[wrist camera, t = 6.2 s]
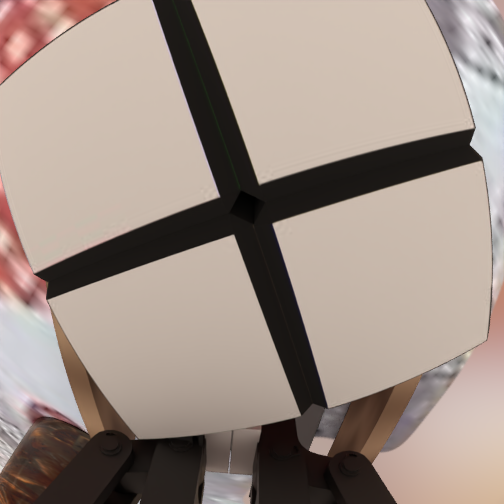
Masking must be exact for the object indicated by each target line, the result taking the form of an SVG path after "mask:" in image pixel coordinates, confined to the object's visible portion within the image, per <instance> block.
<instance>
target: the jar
mask: <svg viewBox="0 0 504 504" xmlns="http://www.w3.org/2000/svg"><path fill="white" fill-rule="evenodd" d="M90 439H91V438H90V436H89V435H88V434H86V433H84V432H83V431H81V430H79V429H77V428H76V427H74V426H72V425H69V424H67V423H65V422H62V421H60V420H57V419H53V418H47V417H43V418H39V419H37V420H36V421H35V422H34V423H33V425H32V426H31V427H30V429H29V430H28V432H27V433H26V435H25V436H24V437H23V439H22V440H21V442H20V443H19V445H18V446H17V448H16V449H15V451H14V452H13V454H12V456H11V457H10V459H9V460H8V462H7V463H6V465H5V467H4V468H3V470H2V472H1V473H0V504H33V502H34V501H35V500H36V499H37V498H38V497H39V496H40V495H41V494H42V493H43V491H44V490H45V489H46V488H47V487H48V486H49V485H50V484H51V483H52V482H53V480H54V479H55V478H56V477H57V476H58V475H59V474H60V473H61V472H62V470H63V469H64V468H65V467H66V466H67V465H68V464H69V463H70V462H71V461H72V459H73V458H74V457H75V456H76V455H77V454H78V453H79V452H80V451H81V449H82V448H83V447H84V446H85V445H86V444H87V443H88V442H89V441H90Z"/></svg>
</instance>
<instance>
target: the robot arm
mask: <svg viewBox="0 0 504 504" xmlns="http://www.w3.org/2000/svg"><path fill="white" fill-rule="evenodd" d="M231 433H232V431H227V432H220V433H213V434H205V435H197V436H187V437H176V438H162V439H141V440H130V439H129V438H128V436H126V435H125V434H124V433H122V432H119V431H116V430H104V431H101V432H98V433H97V434H96V435H94V436H93V437H92V438H91V439H90V441H89V442H88V443H87V444H86V445H85V446H84V447H83V448H82V449H81V451H80V452H79V453H78V454H77V455H76V456H75V457H74V458H73V459H72V461H71V462H70V463H69V464H68V465H67V466H66V467H65V468H64V469H63V470H62V472H61V473H60V474H59V475H58V476H57V477H56V478H55V479H54V480H53V482H52V483H51V484H50V485H49V486H48V487H47V488H46V489H45V490H44V491H43V493H42V494H41V495H40V496H39V497H38V498H37V499H36V500H35V501H34V502H33V504H138V502H139V500H140V499H141V500H140V504H202V499H203V492H204V476H205V470H206V471H211V472H219V473H228V467H229V456H230V444H231ZM252 473H253V474H252ZM230 474H243V475H252V486H251V490H250V494H249V497H251V499H250V504H397V503H396V501H395V500H394V498H393V497H392V495H391V494H390V492H389V491H388V490H387V487H386V486H385V484H384V483H383V482H382V480H381V478H380V477H379V475H378V473H377V472H376V470H375V469H374V467H373V465H372V464H371V462H370V461H369V460H368V459H367V458H366V456H365V455H363V454H361V453H359V452H355V451H350V450H349V451H342V452H339V453H337V454H335V455H334V456H333V457H329V456H323V455H319V454H316V453H312V452H310V451H309V450H307V449H306V448H304V447H303V446H302V445H301V443H300V442H299V439H298V436H297V428H296V421H295V418H292V419H288V420H284V421H280V422H275V423H271V424H266V425H261V426H256V427H250V428H245V429H239V430H233V437H232V449H231V461H230Z"/></svg>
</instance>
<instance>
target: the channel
mask: <svg viewBox="0 0 504 504" xmlns="http://www.w3.org/2000/svg"><path fill="white" fill-rule="evenodd" d="M46 286H47V287H48V282H46ZM50 309H51V308H50ZM51 314H52V319H53V323H54V328H55V332H56V336H57V340H58V344H59V348H60V352H61V356H62V359H63V363H64V366H65V369H66V373H67V376H68V379H69V382H70V385H71V388H72V391H73V394H74V397H75V400H76V403H77V405H78V408H79V411H80V413H81V416H82V418H83V421H84V423H85V426H86V428H87V431H88V433H89V435H90V438H92V437H93V436H94V435H96V434H97V433H98V432H101V431H104V430H116V431H119V432H122V433H124V434H125V435H126V436H128V438H129V439H130V440H135V435H134V434H133V432H132V431H131V430H130V429H129V428H128V426H127V425H126V424H125V423H124V421H123V420H122V419H121V418H120V416H119V415H118V414H117V413H116V411H115V410H114V409H113V407H112V406H111V405H110V403H109V402H108V401H107V399H106V398H105V396H104V395H103V394H102V392H101V391H100V389H99V388H98V387H97V385H96V384H95V382H94V381H93V379H92V378H91V376H90V375H89V373H88V372H87V370H86V369H85V367H84V366H83V364H82V363H81V361H80V359H79V358H78V356H77V355H76V353H75V351H74V350H73V348H72V346H71V345H70V343H69V341H68V339H67V338H66V336H65V334H64V332H63V331H62V329H61V327H60V325H59V323H58V321H57V320H56V318H55V316H54V314H53V312H52V310H51ZM421 376H422V375H419V376H417V377H415V378H413V379H410V380H408V381H406V382H403V383H401V384H398V385H396V386H393V387H391V388H388V389H386V390H383V391H381V392H378V393H375V394H373V395H370V396H367V397H364V398H361V399H359V400H356V401H353V402H351V404H350V406H349V409H348V411H347V414H346V416H345V418H344V421H343V423H342V425H341V427H340V429H339V432H338V434H337V436H336V438H335V440H334V442H333V445H332V447H331V449H330V451H329V453H328V456H329V457H333V456H334V455H335V454H337V453H339V452H342V451H349V450H350V451H355V452H359V453H361V454H363V455H365V456H366V458H367V459H368V460H369V461H370V462H371V464H372V463H373V461H374V460H375V458H376V457H377V455H378V454H379V452H380V451H381V449H382V448H383V446H384V444H385V443H386V441H387V440H388V438H389V436H390V435H391V433H392V431H393V430H394V428H395V426H396V424H397V423H398V421H399V419H400V417H401V416H402V414H403V412H404V410H405V408H406V406H407V405H408V403H409V401H410V399H411V397H412V395H413V393H414V391H415V389H416V387H417V385H418V383H419V381H420V379H421Z"/></svg>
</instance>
